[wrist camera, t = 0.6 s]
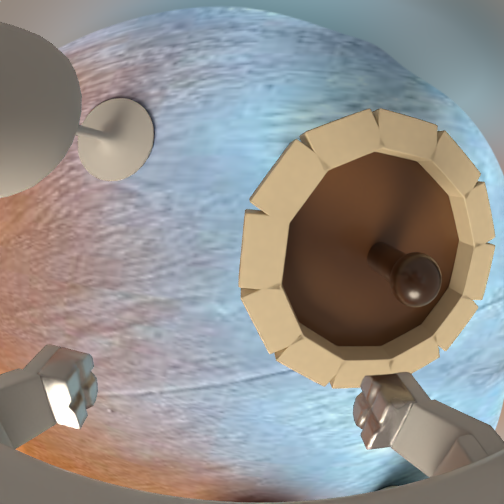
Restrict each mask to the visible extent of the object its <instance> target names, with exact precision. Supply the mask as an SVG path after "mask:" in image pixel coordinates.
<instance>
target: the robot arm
mask: <svg viewBox="0 0 504 504" xmlns="http://www.w3.org/2000/svg"><path fill="white" fill-rule="evenodd" d="M93 367H94V363H93V358H92V356H91V355H90V354H88V353H83V352H79V351H75V350H71V349H67V348H63V347H59V346H55V345H51V344H48V345H46V346H45V347H44V348H43V349H42V350H41V351H40V352H39V353H38V354H37V355H36V356H35V357H34V358H33V359H32V360H31V361H30V362H29V363H28V364H27V365H26V367H25V368H24V369H23V370H22V369H16V370H13V371H10V372H7V373H4V374H0V504H504V441H503V440H502V439H501V438H500V436H499V435H498V434H497V433H496V431H495V430H494V429H493V428H492V427H491V426H490V425H488V424H486V423H484V422H482V421H479V420H477V419H475V418H473V417H471V416H468V415H466V414H464V413H462V412H460V411H458V410H456V409H453V408H451V407H449V406H447V405H445V404H443V403H441V402H439V401H437V400H431V399H430V398H429V397H428V395H427V394H426V393H425V391H424V390H423V389H422V388H421V386H420V385H419V384H418V382H417V381H416V380H415V378H414V377H413V376H412V375H411V373H409V372H399V373H393V374H383V375H367V376H365V377H364V378H363V379H362V382H361V385H360V387H361V389H362V392H361V393H360V394H359V395H358V396H357V397H356V399H355V402H354V405H353V417H354V421H355V423H356V425H357V426H358V427H360V428H361V429H363V430H362V432H361V437H362V440H363V442H364V444H365V447H366V449H367V450H368V449H377V448H384V447H391V446H392V447H391V448H392V449H393V450H395V451H396V452H397V453H398V454H400V455H401V456H402V457H404V458H405V459H406V460H407V461H409V462H410V463H411V464H413V465H414V466H415V467H416V468H418V469H419V470H420V471H422V472H423V473H424V474H426V475H427V476H428V477H430V478H427V479H424V480H420V481H417V482H413V483H409V484H405V485H401V486H397V487H393V488H388V489H384V490H379V491H374V492H369V493H363V494H357V495H351V496H345V497H337V498H329V499H320V500H309V501H295V502H267V503H253V502H225V501H211V500H200V499H190V498H182V497H175V496H168V495H162V494H156V493H151V492H145V491H140V490H136V489H131V488H126V487H122V486H118V485H114V484H110V483H106V482H103V481H99V480H95V479H92V478H89V477H85V476H82V475H79V474H76V473H73V472H70V471H67V470H64V469H61V468H59V467H56V466H53V465H51V464H48V463H45V462H43V461H40V460H38V459H36V458H33V457H31V456H29V455H26V454H24V453H22V452H20V451H17V450H15V449H16V448H18V447H19V446H21V445H23V444H24V443H26V442H28V441H29V440H31V439H33V438H34V437H36V436H38V435H39V434H41V433H42V432H44V431H46V430H47V429H49V428H50V427H52V426H54V425H55V424H56V423H59V424H62V425H66V426H69V427H73V428H77V429H81V427H82V425H83V423H84V421H85V419H86V418H87V416H88V414H87V411H86V409H88V408H90V407H92V406H93V405H94V403H95V401H96V397H97V392H98V384H97V378H96V377H95V375H94V374H93V373H92V372H91V370H92V369H93Z"/></svg>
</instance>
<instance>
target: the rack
mask: <svg viewBox="0 0 504 504" xmlns="http://www.w3.org/2000/svg"><path fill="white" fill-rule="evenodd" d="M458 243H459V237H458V233H457V228H456V223H455V219H454V215H453V211H452V207H451V203H450V199H449V195H448V194H447V193H446V192H445V191H444V190H443V188H442V187H441V186H440V185H439V184H438V183H437V182H436V181H435V180H434V179H433V177H432V176H431V175H430V174H429V173H428V172H427V171H426V170H425V169H424V168H423V167H422V166H421V165H420V164H419V163H418V162H417V161H414V160H410V159H406V158H401V157H397V156H393V155H388V154H384V153H379V152H372V153H370V154H367V155H365V156H362V157H360V158H357V159H355V160H352V161H350V162H348V163H345V164H343V165H340V166H338V167H335V168H333V169H331V170H328V171H327V173H326V174H325V176H324V177H323V178H322V180H321V181H320V182H319V184H318V185H317V187H316V188H315V189H314V191H313V192H312V193H311V195H310V196H309V197H308V199H307V200H306V202H305V203H304V204H303V206H302V207H301V208H300V210H299V211H298V212H297V214H296V215H295V217H294V218H293V219H292V221H291V222H290V224H289V233H288V241H287V249H286V257H285V264H284V272H283V280H282V285H283V288H284V290H285V292H286V294H287V297H288V299H289V301H290V303H291V305H292V308H293V310H294V312H295V314H296V317H297V319H298V321H299V323H301V324H302V325H304V326H306V327H307V328H309V329H310V330H312V331H313V332H315V333H317V334H318V335H320V336H321V337H323V338H325V339H326V340H328V341H329V342H331V343H333V344H334V345H336V346H382V345H384V344H386V343H388V342H390V341H392V340H394V339H396V338H398V337H399V336H401V335H403V334H405V333H407V332H409V331H410V330H412V329H414V328H416V327H417V326H419V325H421V324H422V323H423V321H424V320H425V319H426V318H427V316H428V315H429V314H430V312H431V311H432V310H433V308H434V307H435V306H436V304H437V303H438V302H439V300H440V299H441V297H442V296H443V295H444V293H445V292H446V290H447V289H448V288H449V284H450V280H451V276H452V272H453V267H454V263H455V258H456V254H457V249H458Z"/></svg>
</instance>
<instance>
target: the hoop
mask: <svg viewBox="0 0 504 504" xmlns="http://www.w3.org/2000/svg"><path fill="white" fill-rule="evenodd" d="M437 127H438V126H437V125H435V124H432V123H429V122H426V121H423V120H420V119H417V118H413V117H410V116H407V115H403V114H400V113H396V112H393V111H389V110H385V109H381V108H380V109H377V110H375V111H373V112H372V111H371V109H366V110H363V111H360V112H357V113H354V114H352V115H349V116H346V117H343V118H340V119H338V120H335V121H332V122H329V123H327V124H324V125H321V126H319V127H316V128H314V129H311V130H308V131H306V132H305V133H303V134H302V135H300V136H299V137H300V140H301V142H300V141H299V140H298V139H295V140H294V141H292V142H291V143H290V144H289V145H288V147H287V148H286V149H285V151H284V152H283V153H282V155H281V156H280V157H279V159H278V160H277V161H276V163H275V164H274V165H273V167H272V168H271V169H270V171H269V172H268V174H267V175H266V176H265V178H264V179H263V180H262V182H261V183H260V185H259V186H258V187H257V189H256V190H255V191H254V193H253V194H252V196H251V197H250V198H249V200H250V202H251V203H252V204H253V205H255V206H256V207H258V208H259V209H260V210H250V209H246V210H245V216H244V226H243V236H242V247H241V258H240V268H239V287H240V288H241V300H242V302H243V304H244V306H245V308H246V310H247V312H248V314H249V316H250V318H251V319H252V321H253V323H254V325H255V327H256V329H257V331H258V333H259V335H260V337H261V339H262V341H263V343H264V345H265V347H266V349H267V350H268V352H269V354H272V353H274V352H275V358H276V361H278V362H279V363H281V364H283V365H285V366H287V367H288V368H290V369H292V370H294V371H296V372H298V373H299V374H301V375H303V376H305V377H307V378H309V379H311V380H312V381H314V382H316V383H318V384H320V385H322V386H326V385H327V384H328V383H329V382H330V384H331V386H332V388H333V389H334V388H360V385H361V382H362V379H363V378H364V377H365V376H367V375H383V374H393V373H399V372H409V373H411V374H412V373H413V372H415V371H417V370H419V369H420V368H422V367H424V366H426V365H427V364H429V363H431V362H432V361H434V360H436V359H437V358H439V357H440V356H439V348H438V346H439V347H441V348H442V349H443V350H444V351H447V349H448V348H449V347H450V346H451V344H452V343H453V342H454V340H455V339H456V338H457V337H458V335H459V334H460V333H461V331H462V330H463V329H464V327H465V326H466V324H467V323H468V322H469V320H470V319H471V318H472V316H473V315H474V313H475V312H476V310H477V309H478V306H477V305H476V304H475V303H474V301H473V300H482V299H483V295H484V292H485V288H486V284H487V280H488V276H489V272H490V268H491V264H492V259H493V254H494V250H495V245H493V244H490V243H487V242H488V241H490V240H492V239H493V238H495V231H494V225H493V220H492V214H491V209H490V204H489V199H488V195H487V190H486V186H485V182H479V181H478V179H479V177H480V175H481V173H480V172H479V171H478V169H477V168H476V167H475V165H474V164H473V163H472V162H471V160H470V159H469V158H468V157H467V155H466V154H465V153H464V152H463V151H462V149H461V148H460V147H459V146H458V145H457V143H456V142H455V141H454V140H453V139H452V138H451V137H450V135H449V134H448V133H447V132H446V131H445V130H444V131H438V132H437ZM372 152H379V153H384V154H388V155H393V156H397V157H401V158H406V159H410V160H414V161H417V162H418V163H419V164H420V165H421V166H422V167H423V168H424V169H425V170H426V171H427V172H428V173H429V174H430V175H431V176H432V177H433V179H434V180H435V181H436V182H437V183H438V184H439V185H440V186H441V187H442V188H443V190H444V191H445V192H446V193H447V194H448V195H449V199H450V203H451V207H452V211H453V215H454V219H455V223H456V228H457V233H458V237H459V243H458V249H457V254H456V258H455V263H454V267H453V272H452V276H451V280H450V284H449V288H448V289H447V290H446V292H445V293H444V295H443V296H442V297H441V299H440V300H439V302H438V303H437V304H436V306H435V307H434V308H433V310H432V311H431V312H430V314H429V315H428V316H427V318H426V319H425V320H424V321H423V323H422V324H421V325H419V326H417V327H416V328H414V329H412V330H410V331H409V332H407V333H405V334H403V335H401V336H399V337H398V338H396V339H394V340H392V341H390V342H388V343H386V344H384V345H382V346H336V345H334V344H333V343H331V342H329V341H328V340H326V339H325V338H323V337H321V336H320V335H318V334H317V333H315V332H313V331H312V330H310V329H309V328H307V327H306V326H304V325H302V324H301V323H299V321H298V319H297V317H296V314H295V312H294V310H293V308H292V305H291V303H290V301H289V299H288V297H287V294H286V292H285V290H284V288H283V285H282V280H283V272H284V264H285V257H286V249H287V241H288V233H289V224H290V222H291V221H292V219H293V218H294V217H295V215H296V214H297V212H298V211H299V210H300V208H301V207H302V206H303V204H304V203H305V202H306V200H307V199H308V197H309V196H310V195H311V193H312V192H313V191H314V189H315V188H316V187H317V185H318V184H319V182H320V181H321V180H322V178H323V177H324V176H325V174H326V173H327V171H328V170H331V169H333V168H335V167H338V166H340V165H343V164H345V163H348V162H350V161H352V160H355V159H357V158H360V157H362V156H365V155H367V154H370V153H372ZM261 210H262V211H261Z"/></svg>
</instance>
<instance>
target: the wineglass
mask: <svg viewBox="0 0 504 504" xmlns="http://www.w3.org/2000/svg"><path fill="white" fill-rule="evenodd" d="M81 98H82V95H81V91H80V86H79V81H78V78H77V75H76V72H75V70H74V68H73V66H72V64H71V62H70V61H69V59H68V58H67V57H66V56H65V55H64V54H63V53H62V52H61V51H60V50H58V49H57V48H56V47H55V46H54V45H53V44H52V43H50V42H49V41H47V40H46V39H44V38H43V37H41V36H39V35H37V34H35V33H32V32H30V31H27V30H25V29H22V28H19V27H15V26H13V25H10V24H6V23H2V22H0V198H2V197H8V196H11V195H14V194H16V193H19V192H22V191H24V190H26V189H29V188H31V187H33V186H35V185H36V184H37V183H38V182H40V181H41V180H42V179H43V178H45V177H46V176H47V175H48V174H49V173H51V172H52V171H53V170H54V169H55V168H56V166H57V165H58V164H59V163H60V162H61V161H62V159H63V158H64V157H65V155H66V153H67V151H68V150H69V148H70V146H71V145H72V143H73V140H74V137H75V135H77V136H78V153H79V157H80V160H81V162H82V164H83V166H84V167H85V169H86V170H87V171H88V172H89V173H90V174H91V175H93V176H95V177H96V178H98V179H101V180H105V181H118V180H121V179H125V178H127V177H129V176H131V175H132V174H134V173H136V172H137V171H138V170H139V169H140V168H141V167H142V166H143V164H144V163H145V162H146V160H147V159H148V157H149V155H150V152H151V150H152V147H153V141H154V127H153V123H152V120H151V117H150V116H149V114H148V113H147V111H146V110H145V109H144V108H143V107H142V106H141V105H140V104H138V103H136V102H134V101H132V100H130V99H124V98H117V99H111V100H108V101H105V102H103V103H101V104H100V105H98V106H97V107H95V108H94V109H93V110H92V111H91V112H90V113H89V114H88V116H87V117H86V119H85V120H84V122H83V124H82V125H79V121H80V115H81Z"/></svg>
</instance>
